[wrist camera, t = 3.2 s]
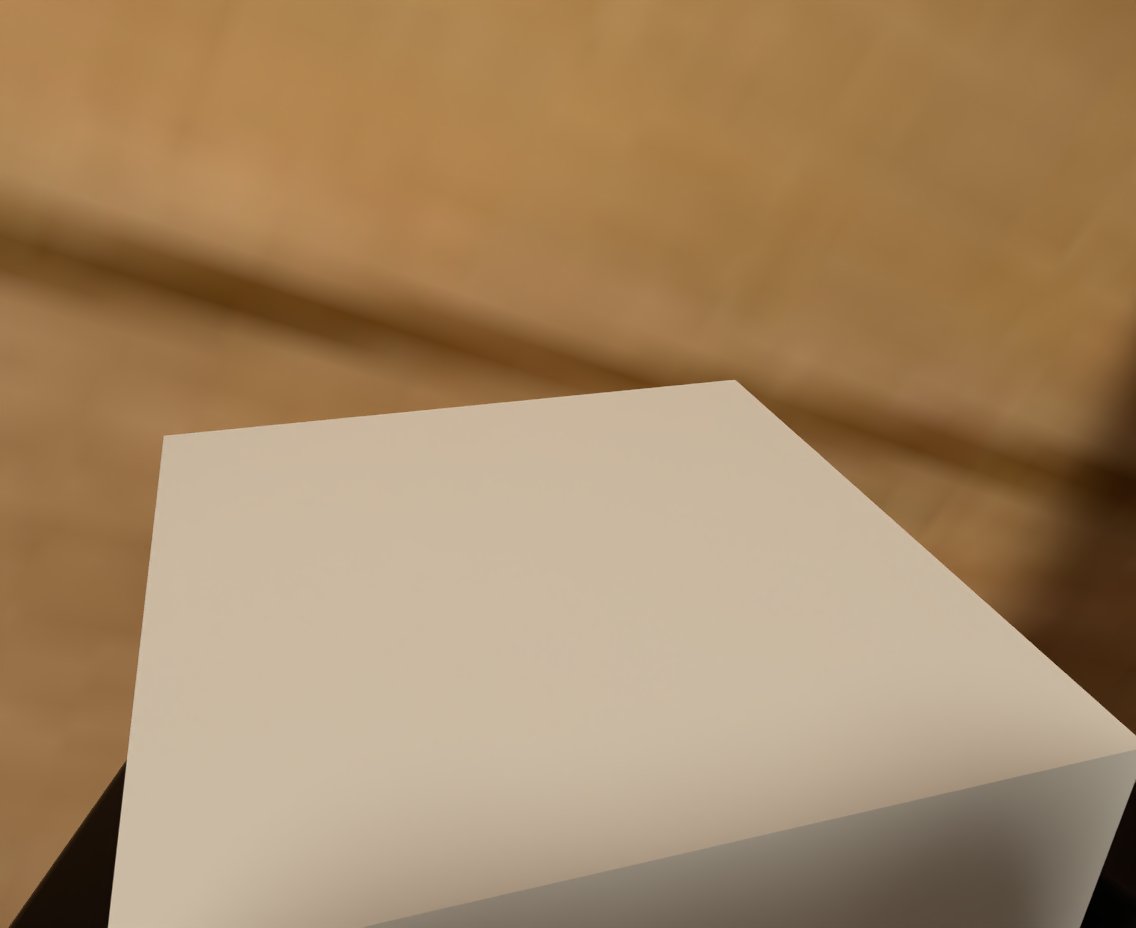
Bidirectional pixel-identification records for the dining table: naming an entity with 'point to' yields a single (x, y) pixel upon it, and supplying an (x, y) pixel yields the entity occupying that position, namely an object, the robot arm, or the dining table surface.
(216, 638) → the cream block
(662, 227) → the dining table surface
